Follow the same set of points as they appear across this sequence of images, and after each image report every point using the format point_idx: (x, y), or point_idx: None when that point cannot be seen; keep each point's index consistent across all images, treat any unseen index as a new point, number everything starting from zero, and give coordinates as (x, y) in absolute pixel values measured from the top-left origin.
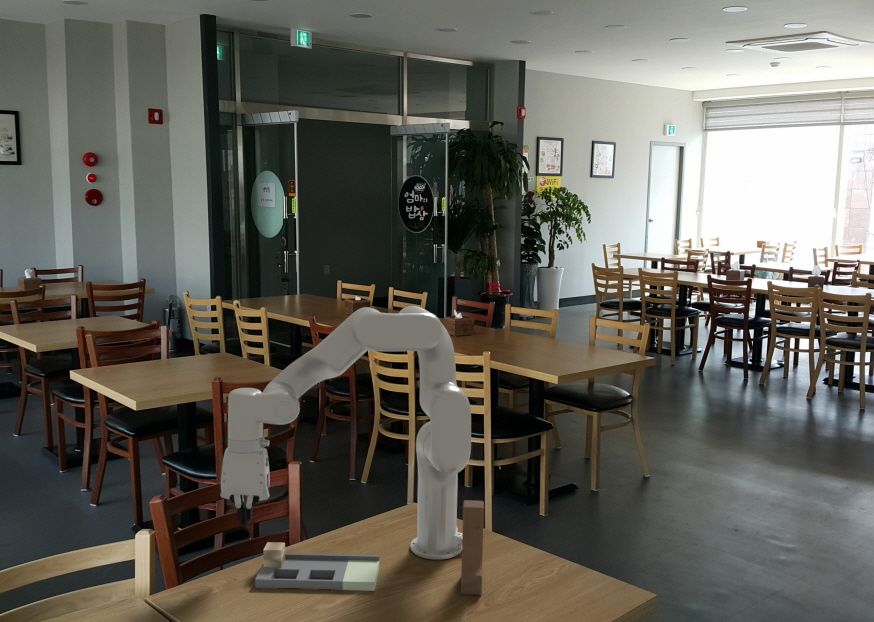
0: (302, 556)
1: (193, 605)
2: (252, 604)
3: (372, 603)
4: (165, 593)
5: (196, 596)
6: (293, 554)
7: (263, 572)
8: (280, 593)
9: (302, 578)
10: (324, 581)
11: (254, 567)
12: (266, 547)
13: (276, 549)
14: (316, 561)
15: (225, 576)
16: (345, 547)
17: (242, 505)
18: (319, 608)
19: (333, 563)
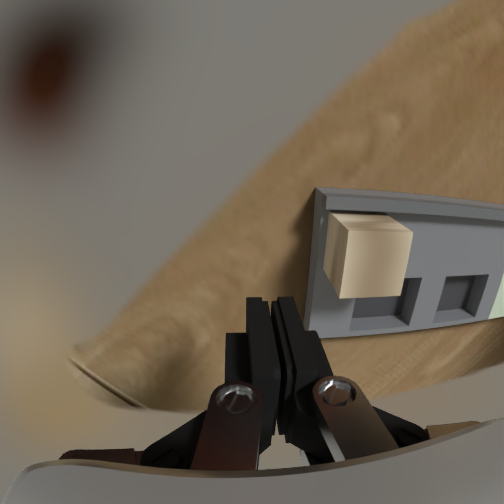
0: (436, 214)
1: (179, 389)
2: None
3: (499, 341)
4: (96, 347)
5: (168, 361)
6: (415, 212)
7: (326, 302)
8: (364, 339)
9: (423, 320)
10: (460, 323)
11: (278, 205)
12: (349, 278)
13: (385, 290)
14: (462, 227)
15: (201, 268)
16: (498, 92)
17: (268, 444)
18: (428, 373)
19: (491, 238)
